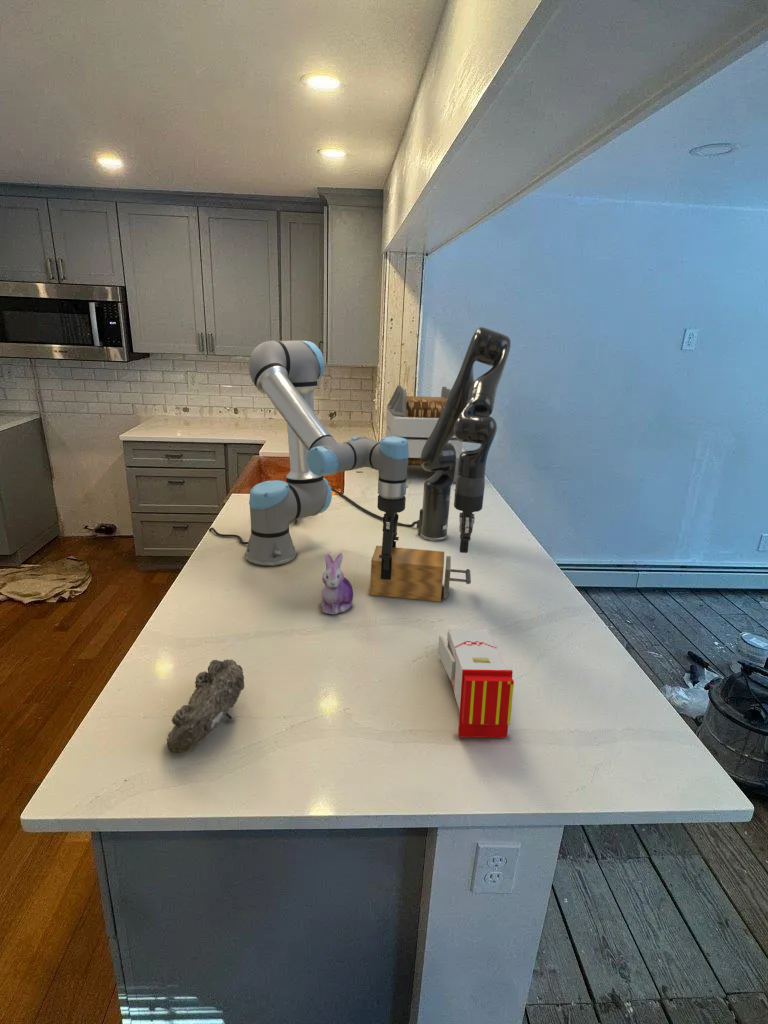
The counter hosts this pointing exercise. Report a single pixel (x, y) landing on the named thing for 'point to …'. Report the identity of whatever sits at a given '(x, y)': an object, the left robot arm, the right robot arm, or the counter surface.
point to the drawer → (448, 579)
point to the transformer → (417, 422)
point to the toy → (478, 682)
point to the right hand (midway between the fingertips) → (463, 551)
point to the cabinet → (409, 574)
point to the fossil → (206, 705)
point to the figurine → (335, 587)
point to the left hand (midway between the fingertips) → (388, 570)
